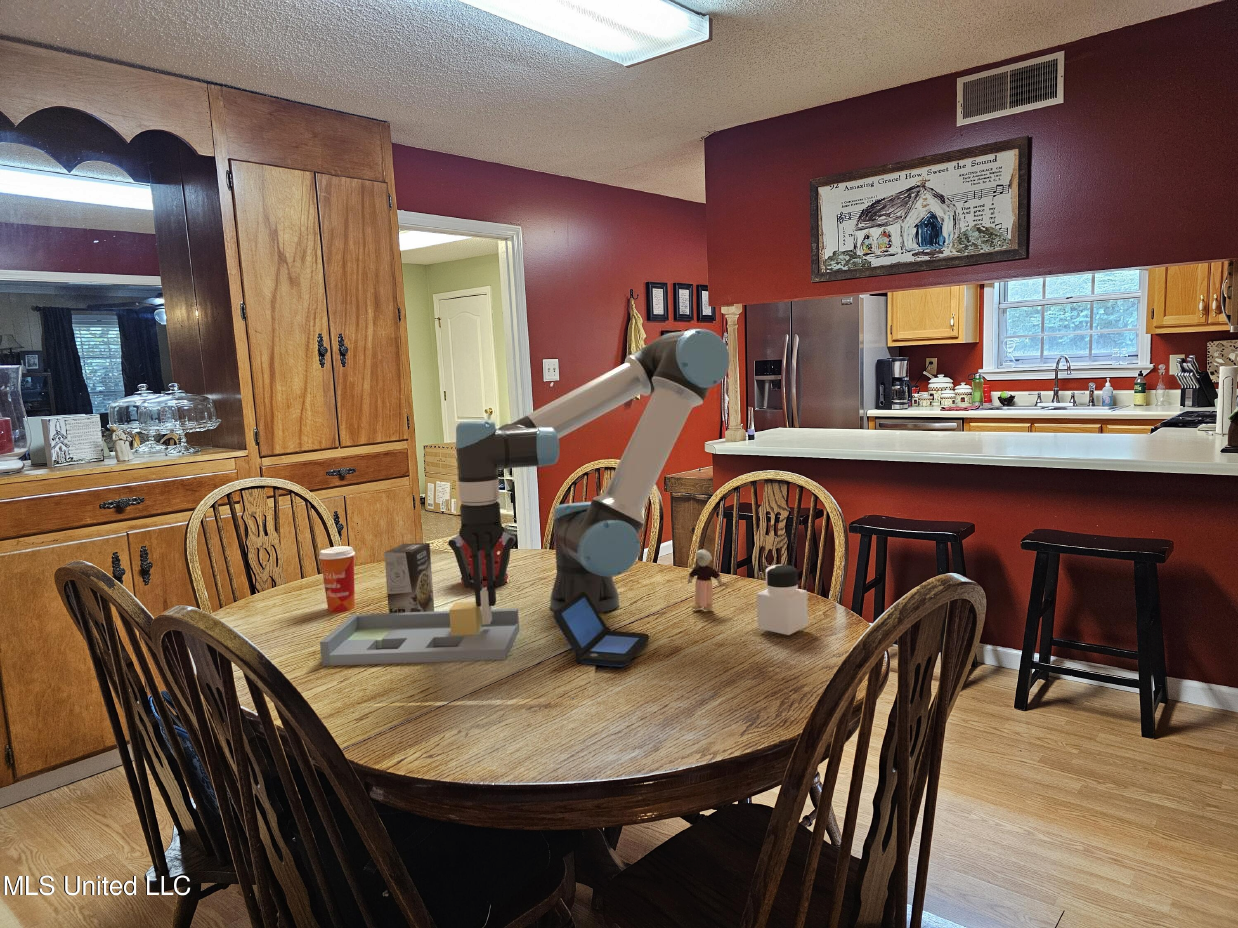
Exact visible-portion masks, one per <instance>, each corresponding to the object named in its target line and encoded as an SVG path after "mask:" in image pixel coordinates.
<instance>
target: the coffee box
mask: <svg viewBox="0 0 1238 928" xmlns="http://www.w3.org/2000/svg"><path fill="white" fill-rule="evenodd" d="M430 545H431V544H430V542H412V543H402V544H400V545H397V546H395V547H393V548H391V549H389V550H386V551H384V566H385V579H386V581H385V583H386V595H387V607H388V613H404V612H432V611H435V599H434V590H433V589H434V588H433V586H434V585H433V574H432V573H433V572H432V561H431V560H432V558H431V546H430Z"/></svg>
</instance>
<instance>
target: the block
mask: <svg viewBox="0 0 1238 928" xmlns="http://www.w3.org/2000/svg"><path fill="white" fill-rule="evenodd" d="M448 611H449V613H450V627H451V635H470V634H478V632H479V630H480V628H481V627H482V618H481V606H479V607H477V606H476V600H475V601H455V602H454V603H453V604H452V606H450V608H449V609H448Z"/></svg>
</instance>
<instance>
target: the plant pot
mask: <svg viewBox="0 0 1238 928" xmlns="http://www.w3.org/2000/svg"><path fill="white" fill-rule="evenodd" d="M502 541H503V539H502V537H501V538H500V540H499V541H498V543H497V544H496V546H495V547H494V564H495V580H497V578H498V572H499V567H500V562H501V556H502V551H503V548H504V546H505V545H503V544H502ZM462 542H463V544H462V547H463V550H464V553H465V556H466V559H467V563H468V566H469V569H470V572H471V575H472V578H473V562H472V555H471V549H470V548H469V547H468V545H467V544H466V543H465V542H464V541H463V539H462ZM498 553H499V554H498ZM510 558H511V555H510V556H509V561H508V566H507V568H508V567H509V564H510ZM481 564H482V580H483V586H482V588H487V575H486V558H485V550H481ZM508 578H509V574H508V573H507V572H506V577H505V582H507V581H508ZM473 580H474V578H473ZM460 581H461V583H462V584H463V585H464V582H463V579H462V576H461V577H460Z"/></svg>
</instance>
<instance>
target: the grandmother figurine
mask: <svg viewBox="0 0 1238 928" xmlns="http://www.w3.org/2000/svg"><path fill="white" fill-rule="evenodd" d="M695 556H696V557H695V558H696V562H697V565H696V566H695V567H693V568H692V569H691V571H690V572H689V575H688V579H687V580H686V581H687V583H688V584H692V582H693V580H694V578H695V577H696V579H695V589H694V590H695V592H694V593H695V594H694V604H693V605H692V606H691V609H693V610H700V609H703V611H712V610H713V609H714V606H713V598H714V596H713V594H714V591H713V589H714V588H713V582H712V580H716V581H717V585H723V582H724V581H723V580H722V578H721V574H720V573H719V572H718V571H717V570H716V569H715V568H714V567H713V566H710V565H709V564H710V562H711V561H712V560H713V557H712V554H711V553H710V552H709V551H707V550H706V549H699V550H697V552H696V554H695ZM712 578H713V579H712Z"/></svg>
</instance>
